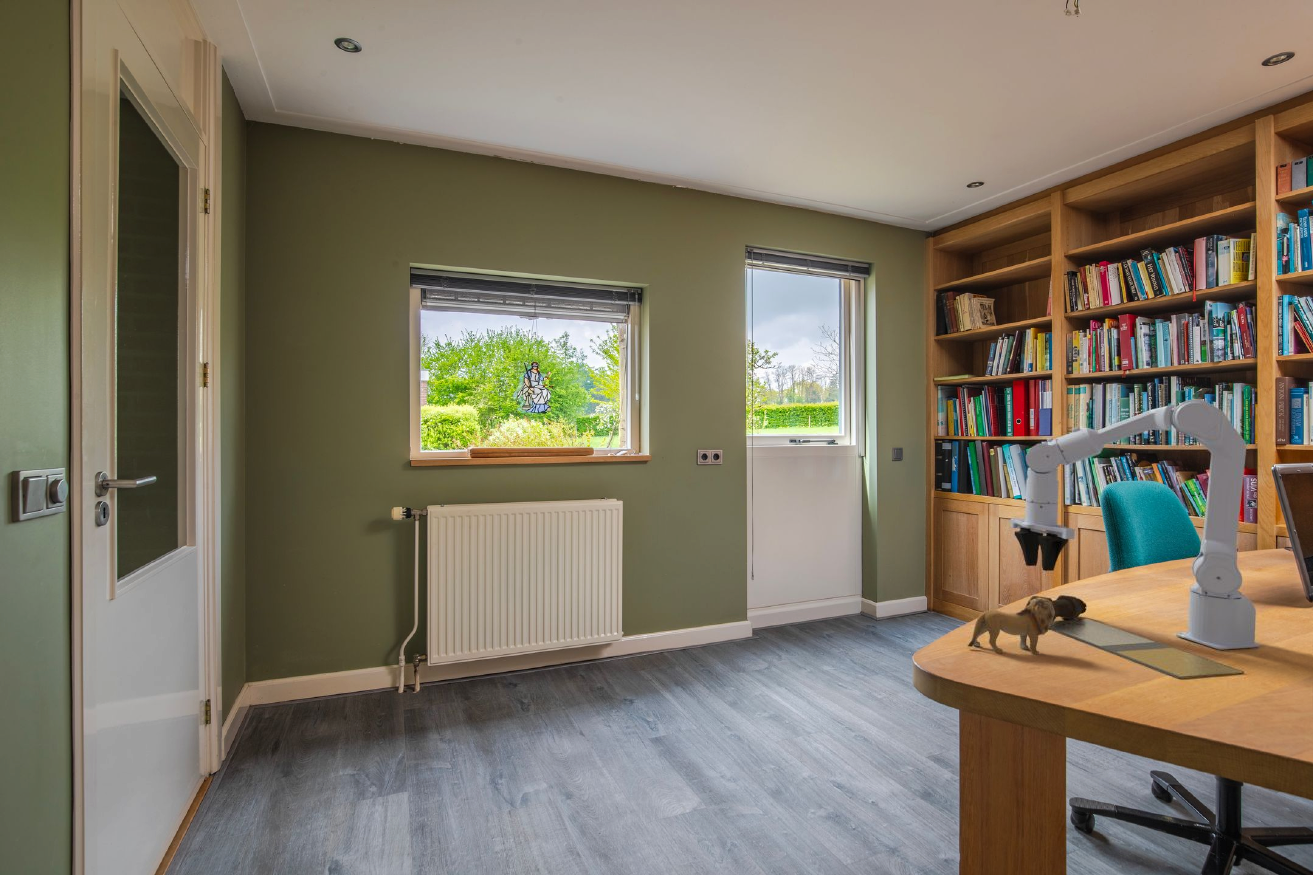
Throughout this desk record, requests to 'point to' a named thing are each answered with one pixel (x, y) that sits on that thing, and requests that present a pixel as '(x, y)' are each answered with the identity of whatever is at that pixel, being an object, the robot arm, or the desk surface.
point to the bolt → (1065, 606)
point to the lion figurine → (1016, 624)
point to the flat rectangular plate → (1141, 649)
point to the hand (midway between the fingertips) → (1039, 567)
